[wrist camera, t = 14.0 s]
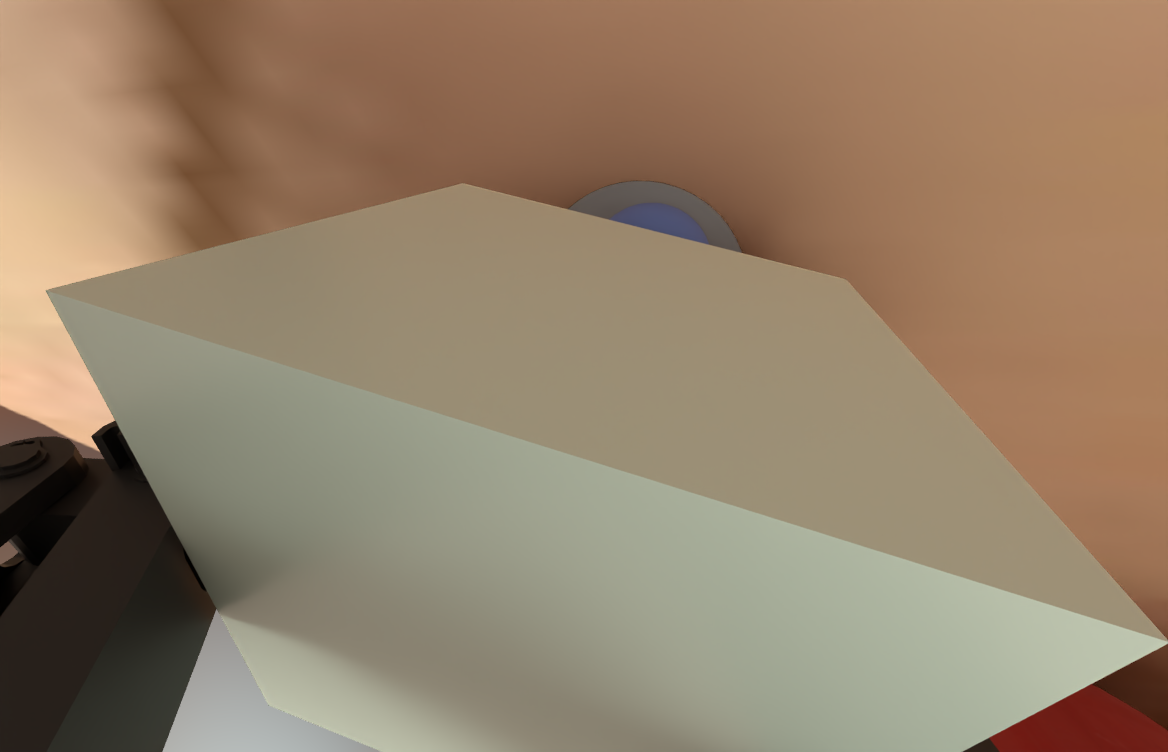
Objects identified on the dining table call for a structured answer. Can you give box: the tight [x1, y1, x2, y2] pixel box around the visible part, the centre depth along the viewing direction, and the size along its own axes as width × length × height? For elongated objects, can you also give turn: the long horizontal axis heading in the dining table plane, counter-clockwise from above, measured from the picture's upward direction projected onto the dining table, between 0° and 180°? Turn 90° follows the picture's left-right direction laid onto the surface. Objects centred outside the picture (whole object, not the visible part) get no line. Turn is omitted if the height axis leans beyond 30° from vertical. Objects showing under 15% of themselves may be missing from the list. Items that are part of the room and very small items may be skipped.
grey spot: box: [568, 181, 742, 253], centre depth 21 cm, size 10×10×1 cm
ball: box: [609, 203, 709, 245], centre depth 17 cm, size 5×5×5 cm
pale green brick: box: [46, 183, 1168, 752], centre depth 10 cm, size 10×10×9 cm
